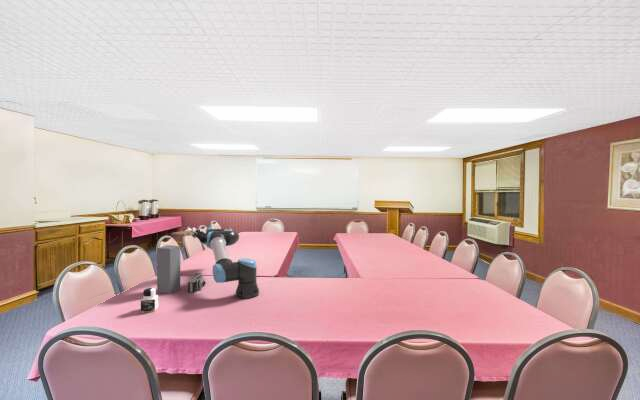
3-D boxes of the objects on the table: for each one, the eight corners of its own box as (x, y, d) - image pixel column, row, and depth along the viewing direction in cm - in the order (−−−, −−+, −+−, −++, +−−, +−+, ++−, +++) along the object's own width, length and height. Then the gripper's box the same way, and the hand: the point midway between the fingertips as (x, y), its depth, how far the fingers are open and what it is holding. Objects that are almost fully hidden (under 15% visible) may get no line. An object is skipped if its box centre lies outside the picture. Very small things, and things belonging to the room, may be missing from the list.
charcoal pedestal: (167, 287, 201) (167, 245, 200) (180, 288, 199) (180, 245, 198) (157, 292, 191) (156, 248, 190) (170, 293, 189) (170, 248, 188)
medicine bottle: (140, 312, 159) (140, 291, 158) (144, 307, 165) (144, 287, 165) (154, 311, 160) (154, 290, 160) (158, 306, 167) (158, 286, 167)
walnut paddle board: (189, 232, 225) (189, 229, 224) (202, 232, 222) (202, 230, 222) (170, 236, 204) (170, 233, 204) (184, 236, 202) (184, 233, 202)
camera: (200, 292, 191) (199, 278, 191) (187, 293, 191) (187, 278, 190) (207, 286, 205) (207, 272, 205) (196, 286, 205) (196, 272, 204)
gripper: (213, 244, 234) (198, 233, 213) (195, 243, 237) (178, 232, 217) (216, 235, 237) (201, 224, 217) (198, 235, 240) (182, 223, 220)
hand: (190, 228), depth 217 cm, fingers closed on walnut paddle board, 3 cm apart
